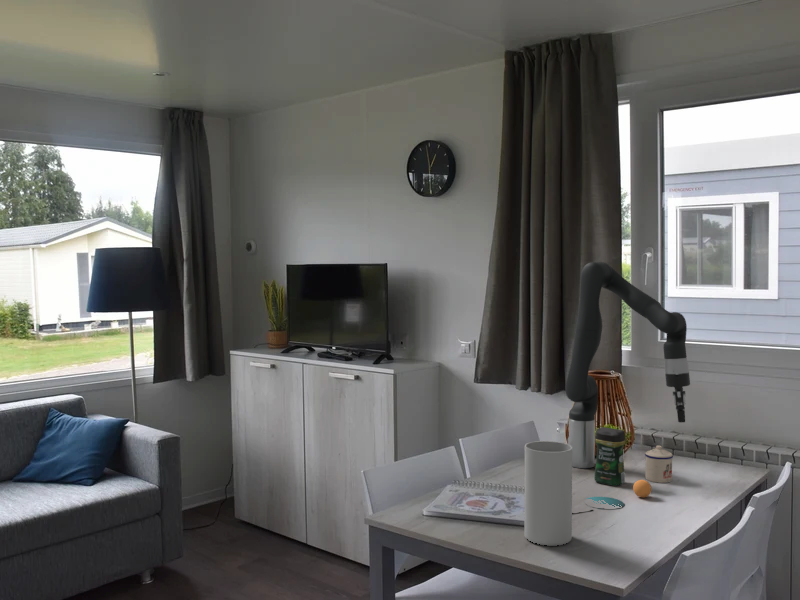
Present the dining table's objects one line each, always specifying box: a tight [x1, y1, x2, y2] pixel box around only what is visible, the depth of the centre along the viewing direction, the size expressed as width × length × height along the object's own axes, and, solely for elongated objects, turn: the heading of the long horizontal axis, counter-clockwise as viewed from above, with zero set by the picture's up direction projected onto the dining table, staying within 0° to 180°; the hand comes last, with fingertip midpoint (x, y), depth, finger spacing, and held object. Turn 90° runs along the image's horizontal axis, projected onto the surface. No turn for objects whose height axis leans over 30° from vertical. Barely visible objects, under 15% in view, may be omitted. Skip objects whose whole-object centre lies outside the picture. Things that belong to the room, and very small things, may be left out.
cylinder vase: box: [523, 440, 573, 547], centre depth 198 cm, size 12×12×25 cm
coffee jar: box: [594, 426, 626, 487], centre depth 250 cm, size 10×8×19 cm
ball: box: [632, 479, 652, 499], centre depth 234 cm, size 6×6×6 cm
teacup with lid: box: [644, 445, 674, 484], centre depth 255 cm, size 12×9×12 cm
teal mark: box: [586, 496, 625, 507], centre depth 228 cm, size 12×12×1 cm
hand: (681, 420), depth 247 cm, fingers open, 8 cm apart
